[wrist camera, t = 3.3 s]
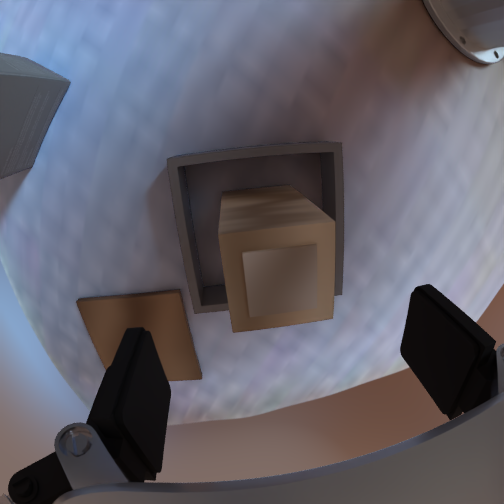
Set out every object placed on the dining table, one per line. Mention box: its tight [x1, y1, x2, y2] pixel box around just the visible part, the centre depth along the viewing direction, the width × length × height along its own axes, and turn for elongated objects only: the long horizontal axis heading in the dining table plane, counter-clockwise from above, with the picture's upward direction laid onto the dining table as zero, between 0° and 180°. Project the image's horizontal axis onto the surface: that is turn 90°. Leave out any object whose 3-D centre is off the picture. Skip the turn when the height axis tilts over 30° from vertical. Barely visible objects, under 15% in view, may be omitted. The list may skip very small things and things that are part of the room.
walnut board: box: [76, 289, 202, 381], centre depth 26 cm, size 10×10×1 cm
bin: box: [167, 142, 344, 314], centre depth 21 cm, size 11×11×3 cm
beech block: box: [218, 185, 335, 333], centre depth 18 cm, size 5×5×10 cm
